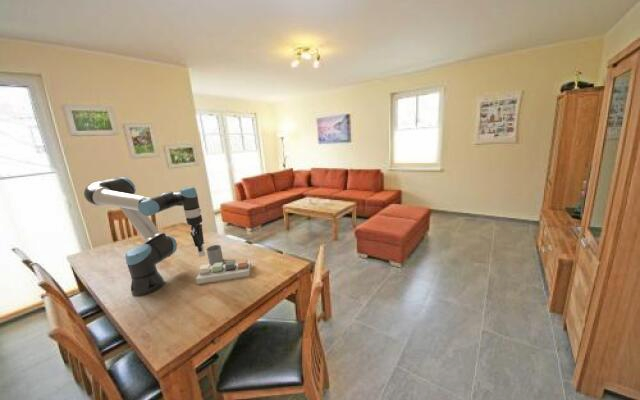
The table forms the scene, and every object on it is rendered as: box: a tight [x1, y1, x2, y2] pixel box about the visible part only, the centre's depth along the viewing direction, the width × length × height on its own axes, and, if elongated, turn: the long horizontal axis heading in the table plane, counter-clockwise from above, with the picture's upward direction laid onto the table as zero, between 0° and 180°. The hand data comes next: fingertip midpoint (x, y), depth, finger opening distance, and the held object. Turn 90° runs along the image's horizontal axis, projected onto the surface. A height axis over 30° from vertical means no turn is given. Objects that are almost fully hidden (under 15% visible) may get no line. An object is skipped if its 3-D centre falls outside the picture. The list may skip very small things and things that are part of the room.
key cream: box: [198, 263, 212, 275], centre depth 142 cm, size 5×5×4 cm
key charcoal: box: [225, 260, 237, 271], centre depth 144 cm, size 5×5×4 cm
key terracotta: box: [237, 258, 249, 269], centre depth 146 cm, size 5×5×4 cm
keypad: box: [195, 260, 252, 285], centre depth 145 cm, size 28×12×4 cm, turn 100°
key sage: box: [212, 261, 224, 273], centre depth 143 cm, size 5×5×4 cm
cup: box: [206, 244, 224, 266], centre depth 160 cm, size 8×8×10 cm
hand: (202, 255), depth 140 cm, fingers closed
